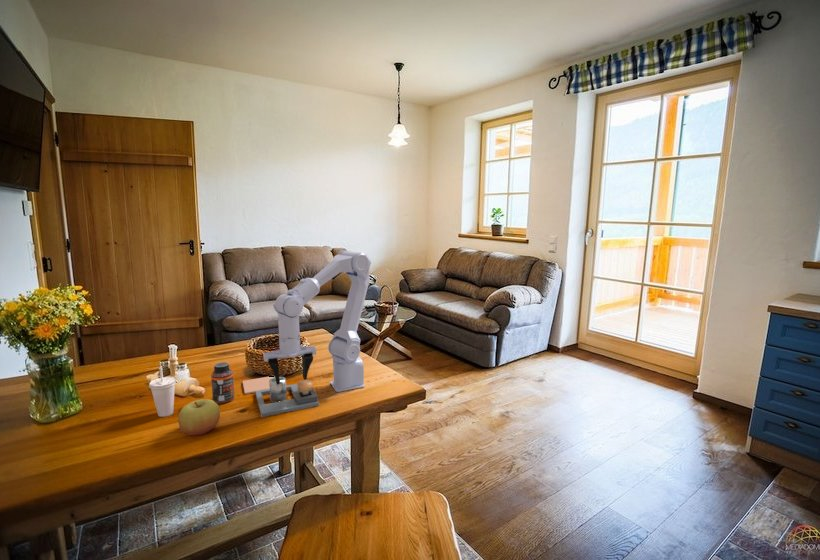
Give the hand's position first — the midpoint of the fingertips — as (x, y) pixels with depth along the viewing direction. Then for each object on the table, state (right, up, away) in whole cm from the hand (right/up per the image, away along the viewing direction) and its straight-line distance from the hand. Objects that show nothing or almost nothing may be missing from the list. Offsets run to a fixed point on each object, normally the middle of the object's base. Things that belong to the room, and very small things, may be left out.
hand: (291, 380), depth 119 cm
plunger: (+3, -4, +2) cm, 6 cm away
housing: (-3, -7, +4) cm, 9 cm away
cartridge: (-5, -7, +5) cm, 10 cm away
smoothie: (-34, -8, -4) cm, 35 cm away
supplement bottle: (-22, -7, +4) cm, 23 cm away
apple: (-20, -10, -13) cm, 26 cm away
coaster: (-14, -5, +14) cm, 21 cm away
